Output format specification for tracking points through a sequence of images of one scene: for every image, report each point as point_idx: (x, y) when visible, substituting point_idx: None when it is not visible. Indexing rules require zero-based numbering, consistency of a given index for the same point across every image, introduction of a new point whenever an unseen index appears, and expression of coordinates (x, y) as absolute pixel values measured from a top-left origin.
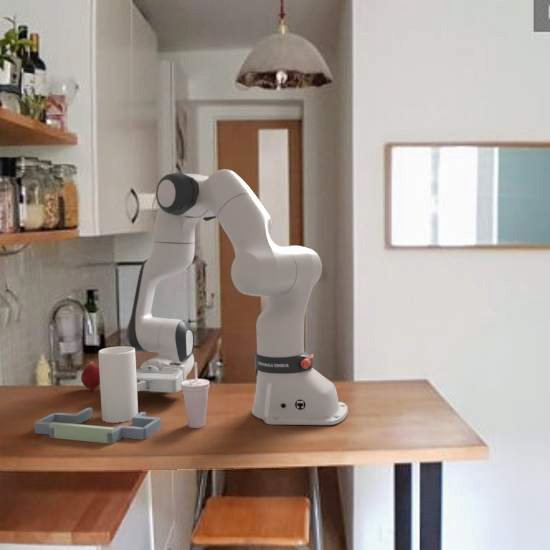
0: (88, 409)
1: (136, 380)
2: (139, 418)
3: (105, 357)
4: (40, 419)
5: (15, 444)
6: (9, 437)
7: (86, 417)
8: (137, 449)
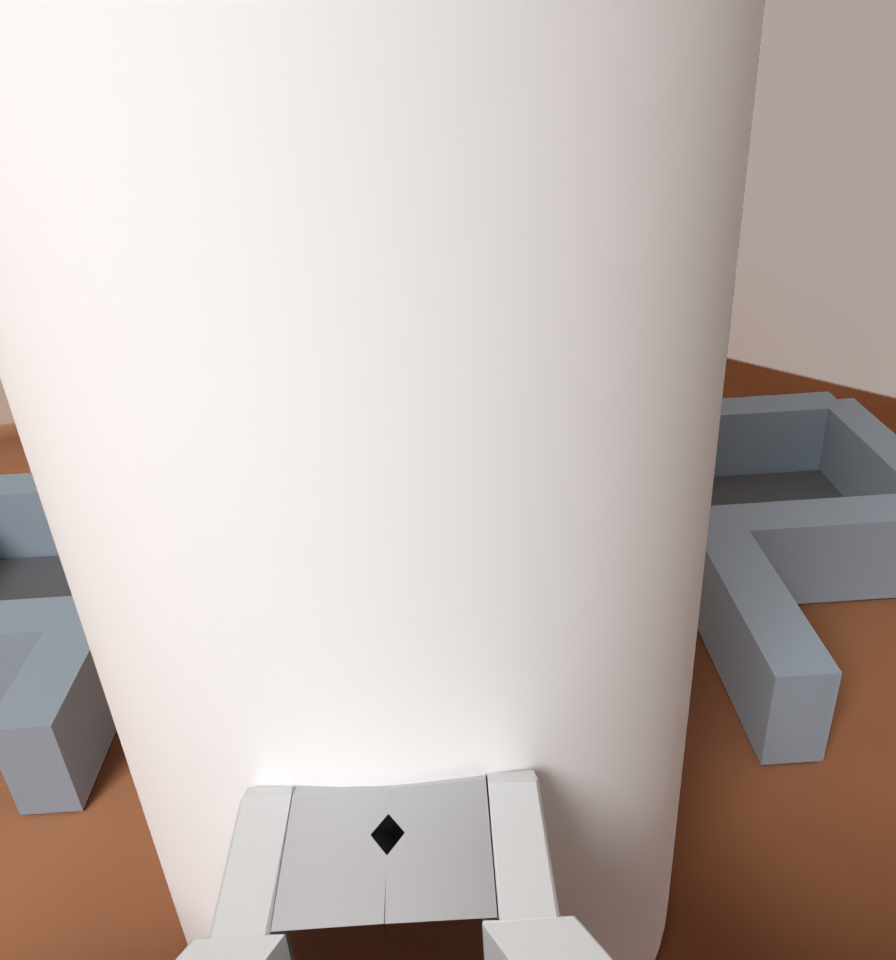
0: (763, 632)
1: (44, 509)
2: (37, 602)
3: None
4: (882, 424)
5: (735, 381)
6: (884, 406)
7: (723, 652)
8: (8, 470)
